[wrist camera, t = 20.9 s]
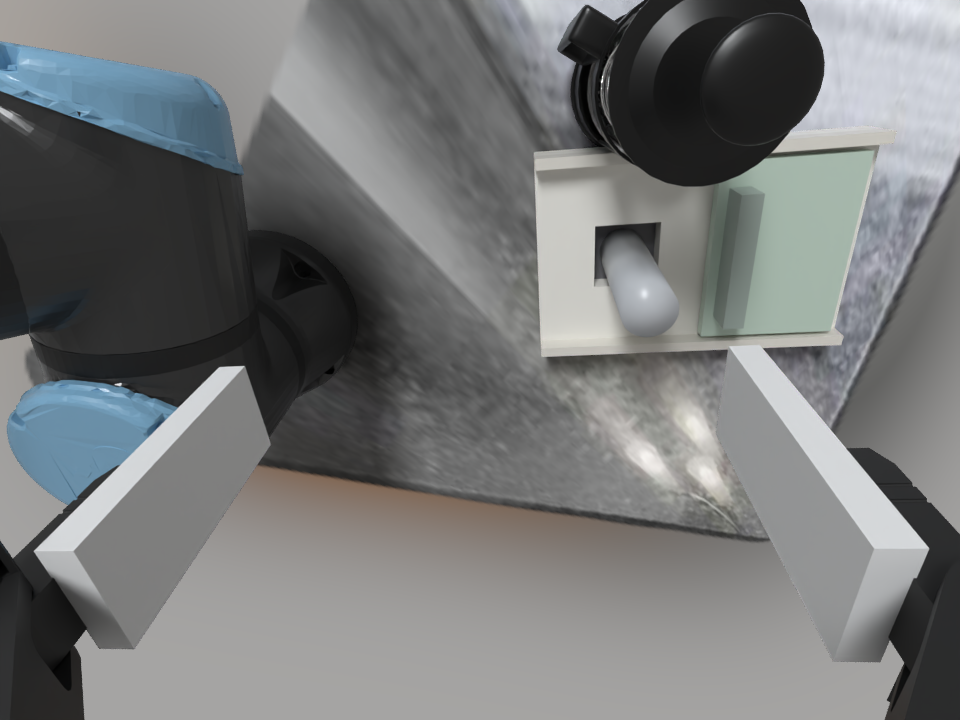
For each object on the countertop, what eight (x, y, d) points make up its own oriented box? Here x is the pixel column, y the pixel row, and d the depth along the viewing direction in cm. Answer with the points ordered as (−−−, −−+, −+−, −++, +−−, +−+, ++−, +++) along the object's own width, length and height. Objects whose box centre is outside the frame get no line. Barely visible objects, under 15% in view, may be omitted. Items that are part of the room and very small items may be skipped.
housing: (540, 338, 49) (541, 356, 46) (533, 152, 42) (534, 159, 38) (820, 326, 47) (841, 344, 44) (867, 125, 39) (896, 130, 36)
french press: (737, 58, 38) (995, 23, 18) (658, 181, 42) (793, 268, 22) (595, -33, 36) (699, -190, 16) (526, 104, 40) (538, 121, 20)
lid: (697, 331, 45) (709, 350, 42) (717, 160, 39) (733, 168, 36) (824, 325, 44) (846, 345, 41) (866, 148, 38) (896, 156, 35)
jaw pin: (598, 271, 46) (618, 337, 35) (600, 229, 44) (622, 285, 33) (642, 270, 45) (675, 336, 35) (645, 227, 43) (682, 284, 33)
